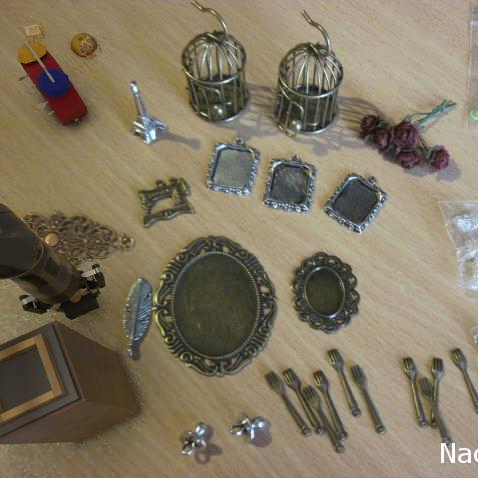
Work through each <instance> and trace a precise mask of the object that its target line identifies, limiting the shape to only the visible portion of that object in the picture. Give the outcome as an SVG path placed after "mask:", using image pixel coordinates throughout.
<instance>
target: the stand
mask: <svg viewBox="0 0 478 478" xmlns="http://www.w3.org/2000/svg"><path fill="white" fill-rule="evenodd" d="M140 412H141V409H140V406H139V404H138V401H137V399H136V396H135V393H134V391H133V388H132V386H131V384H130V381H129V379H128V376H127V374H126V371H125V368H124V366H123V364H122V362H121V358H120V356H119V354H118V353H117V352H115V351H114V350H112V349H109V347H106V346H104V345H102V344H101V343H99V342H97V341H95V340H94V339H92V338H89V337H88V336H86V335H84V334H82V333H80V332H79V331H76V330H75V329H73V328H71V327H70V326H68V325H66V324H64V323H62V322H60V321H58V320H56V319H55V320H53V321H50V322H49V323H46V324H44V325H42V326H39V327H37V328H35V329H33V330H30V331H28V332H26V333H24V334H21V335H19V336H16V337H14V338H13V339H10V340H8V341H5V342H3V343H1V344H0V446H1V445H28V444H29V445H31V444H61V443H80V442H82V441H84V440H85V439H87V438H89V437H91V436H93V435H96V434H98V433H100V432H102V431H103V430H106V429H108V428H109V427H112V426H114V425H116V424H118V423H120V422H122V421H123V420H125V419H127V418H130V417H132V416H134V415H136V414H138V413H140Z"/></svg>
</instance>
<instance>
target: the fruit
mask: <svg viewBox="0 0 478 478" xmlns="http://www.w3.org/2000/svg"><path fill="white" fill-rule="evenodd" d="M70 49H71V50H72V52H73V53H74V54H75V55H77V56H78V57H80V58H85V61H84V66H85V67H87V65H88V64H89V63H91V62H92V61H94V60H96V59H97V58H99V56H98V55H97V54H96V53H94V52H96V50H97V49H98V52H97V53H98V54H101V53H103V51H102V48H101V44H99V43H98V42H97V40H96V38H95V37H94V36H93V35H91V34H89V33H87V32H80V33H77V34H76V35H74V36H73V37H72V38H71V40H70ZM88 66H89V67H91V66H92V64H89V65H88Z"/></svg>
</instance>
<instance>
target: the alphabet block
mask: <svg viewBox="0 0 478 478" xmlns="http://www.w3.org/2000/svg"><path fill="white" fill-rule="evenodd" d="M23 30H24V32H25V35H26V37H27V39H28V42H32V41H34V42H39V41H42V40H45V37H44V36H43V33H42V31H41V28H40V26H39V24H38V23H34V24H31V25H27V26H23Z"/></svg>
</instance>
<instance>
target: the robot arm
mask: <svg viewBox="0 0 478 478" xmlns="http://www.w3.org/2000/svg"><path fill="white" fill-rule="evenodd" d="M105 279H106V278H105V275H104V273H103V271H102V268H101V265H100V263H94V264H92V265H91V268H90V269H89V270H87V271H84V270H82V269H77V267H76V266H75V265H74V264H73V263H72V262H71V261H70V260H69V259H68V258H67V256H65V255H63V254H62V253H61V252H60V251H58V250H56V249H55V248H53V247H52V246H51V245H50V244H49V243H48V242H46V241H45V240H44V239H42V238H40V236H39V234H38V233H36V232H35V230H33V229H32V228H31V227H30V226H29V225H28V224H27V223H26V222H25V221H24V220H22V219H21V217H20V216H19V215H17V214H16V212H14V211H13V210H12V209H11V208H10V207H9V206H7V205H6V204H4V203H2V202H0V281H3V280H10V281H12V282H13V283H14V284H16V285H17V286H18V287H19V288H20V289H21V290H22V291H24V292H26V293H27V294H21V295H19V296H18V299H19V302H20V304H21V308H22V310H23V311H24V312H27V313H33V314H37V315H45V314H46V313H48V310H51V312H52V311H54V312H56V313H62V314H65V313H64V310H63V307H62V305H61V303H63V302H65V301H67V300H68V299H70V298H71V297H72V296H74V295H85V294H87V293H90V295H91V296H93V297H94V298H95V299H98V298H99V295H101V290H100V289H104V288H105V287H106V285H107V284H106V280H105Z"/></svg>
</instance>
